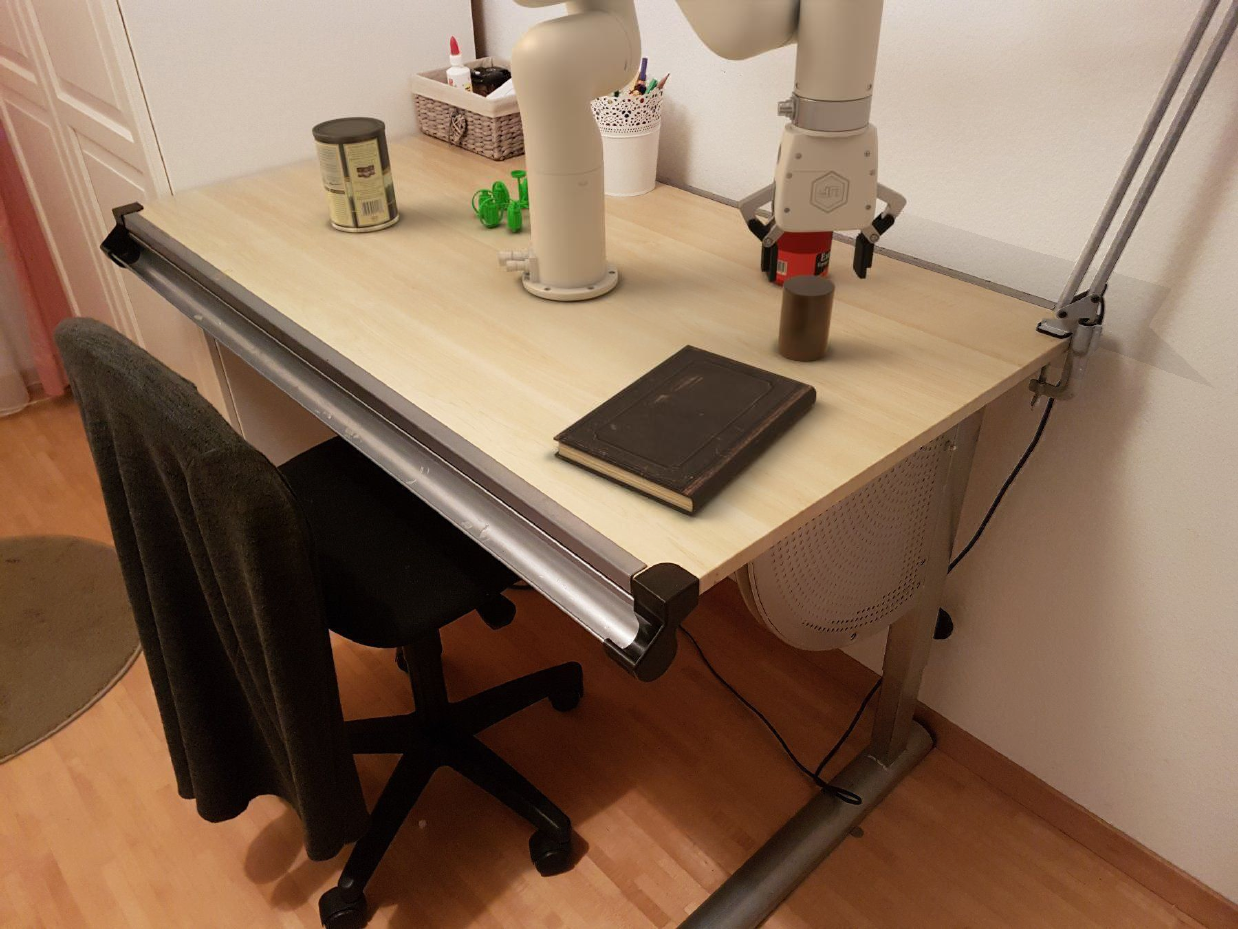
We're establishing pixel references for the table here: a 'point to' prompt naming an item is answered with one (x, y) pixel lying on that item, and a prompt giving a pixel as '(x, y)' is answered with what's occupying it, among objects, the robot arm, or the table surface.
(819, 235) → the canned food
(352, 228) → the coffee can
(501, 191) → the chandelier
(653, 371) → the hardcover book
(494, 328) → the table surface
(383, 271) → the table surface
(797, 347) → the walnut cylinder
